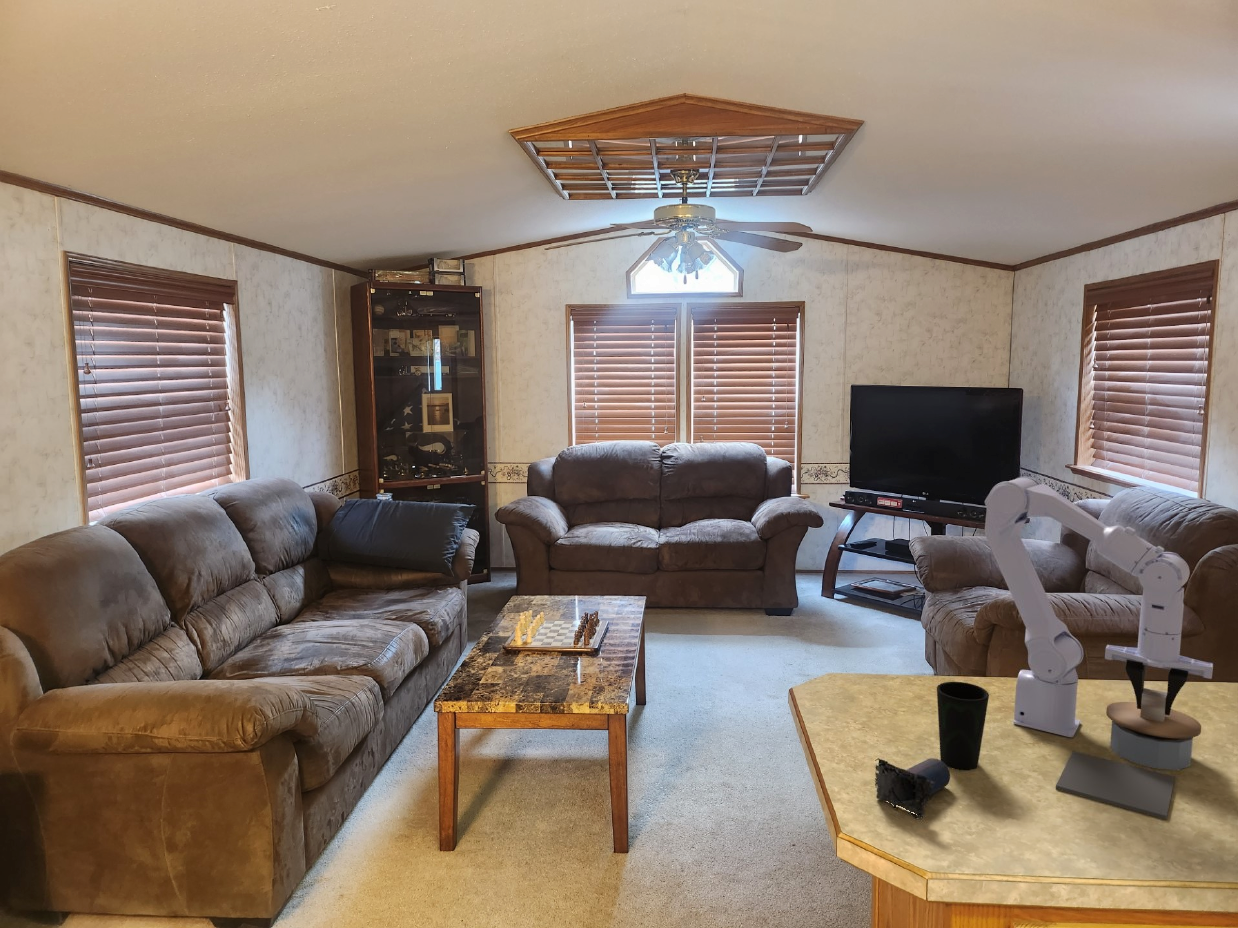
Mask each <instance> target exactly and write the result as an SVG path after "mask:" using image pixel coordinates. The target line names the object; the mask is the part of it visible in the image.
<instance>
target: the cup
mask: <svg viewBox="0 0 1238 928" xmlns="http://www.w3.org/2000/svg"><path fill="white" fill-rule="evenodd" d="M936 696H937V697H936V699H937V701H936V702H937V717H938V720H937V721H938V734H939V735H938V737H939V738H938V739H939V753H940V757H939V758H940V759H939V760H941V761H942V762H943V763H945V764H946V765H947V766H948V768H949V769H952V768H953V770H957V771H963V772H964V771H965V772H967V771H973V770H976V769H977V768H978V767H979V760H980V754H981V747H982V741H983V735H984V730H985V729H984V728H985V723H986V715H987V710H988V705H989V704H988V703H989V697H990V694H989V692H988V691H987V690H986V689H984V688H983V687H982V686H979V685H976V684H973V683H969V682H964V681H945V682H942V683H940V684H938V685H937V687H936Z"/></svg>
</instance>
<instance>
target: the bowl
mask: <svg viewBox="0 0 1238 928" xmlns="http://www.w3.org/2000/svg"><path fill="white" fill-rule="evenodd" d="M1193 741H1194V737H1193V738H1166V737H1159V736H1153V735H1149V734H1145V733H1141V732H1137V731H1134V730H1131V729H1128V728H1126V727H1123V726H1121V725H1119V724H1117V723H1115V722H1114V721H1112V720H1111V731H1110V744H1109V748H1110V749H1111V750H1113V752H1114V753H1115V754H1116V755H1117V756H1119V757H1121V758H1123V759H1125V760H1127V761H1130V762H1132V763H1134V764H1136V765H1141V766H1144V767H1149V768H1153V769H1157V770H1169V771H1170V770H1171V771H1172V770H1173V771H1179V770H1182V769H1186V768H1188V767H1189V768H1190V767H1191V761H1192V754H1193V744H1194V742H1193Z"/></svg>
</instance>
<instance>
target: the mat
mask: <svg viewBox="0 0 1238 928" xmlns="http://www.w3.org/2000/svg"><path fill="white" fill-rule="evenodd" d="M1175 780H1176V776H1175V775H1171V774H1167V773H1163V772H1161V771H1155V770H1152V769H1148V768H1145V767H1144V768H1143V767H1139V766H1135V765H1132V764H1128V763H1124V762H1119V761H1117V760H1112V759H1108V758H1104V757H1099V756H1095V755H1092V754H1088V753H1084V752H1079V751H1076V750H1072V752H1071V754H1070V755H1069V757H1068V760H1067V762H1066V764H1065V765H1064V768H1063V770H1062V772H1061V774H1060V776H1059V778H1058V780H1057V782H1056V784H1055V790H1058V791H1061V792H1065V793H1068V794H1071V795H1076V796H1078V797H1079V796H1080V797H1083V798H1086V799H1090V800H1093V801H1098V802H1100V803H1104V804H1108V805H1112V806H1115V807H1119V808H1122V809H1125V810H1128V811H1129V810H1130V811H1132V812H1137V813H1140V814H1144V815H1147V816H1151V817H1154V818H1157V819H1162V820H1164V821H1166V820H1167V817H1168V813H1169V809H1170V804H1171V798H1172V795H1173V789H1174V785H1175Z"/></svg>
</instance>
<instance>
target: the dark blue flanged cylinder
mask: <svg viewBox="0 0 1238 928" xmlns="http://www.w3.org/2000/svg"><path fill="white" fill-rule="evenodd" d="M874 761H878V762H877V764H875V766H874V768H875V774H874V775H875V778H874V779H875V780H874V781H875V782H874V786H875V788H876V797H875V798H876V799H878V800H880V799H881V801H882V800H883V801H882V802H885V801H888V802H889V803H892V804H893V805H894V806H893V807H892V809H893V808H897V810H896V811H898V810H899V808H898V807H896V805H898V806H901V807H903V808H905V809H906V810H909V811H910V812H908V814H909V813H910V814H909V815H910V816H911V815H912V816H914V817H915V819H916V818H920V819H923V818H924V815H925V812H926V810H925V809H926V808H927V803H928V802H930V801H931V800H932V798H933V794H935V793H937V792H938V791H940V790H942V789H944V788H945V787H947V786H949V785H948V784H950V781H951V773H950V768H949V767H948V766H947V765H946V764H945V763H943V762H942V761H941V759H939V758H934V757H933V758H932V757H931V758H927V759H925V760H923V761H921V762H919V763H917V764H916V765H915V764H914V765H913V766H911V767H909V768H908V769H905V768H901V767H897V766H895V765H894V764H891V763H889V762H888V761H887V760H885V759H881V758H877V759H874ZM889 803H888V804H889ZM911 812H914V813H915V814H913V813H911ZM916 814H917V815H918V816H917V815H916ZM912 816H911V817H912ZM921 817H922V818H921Z"/></svg>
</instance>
